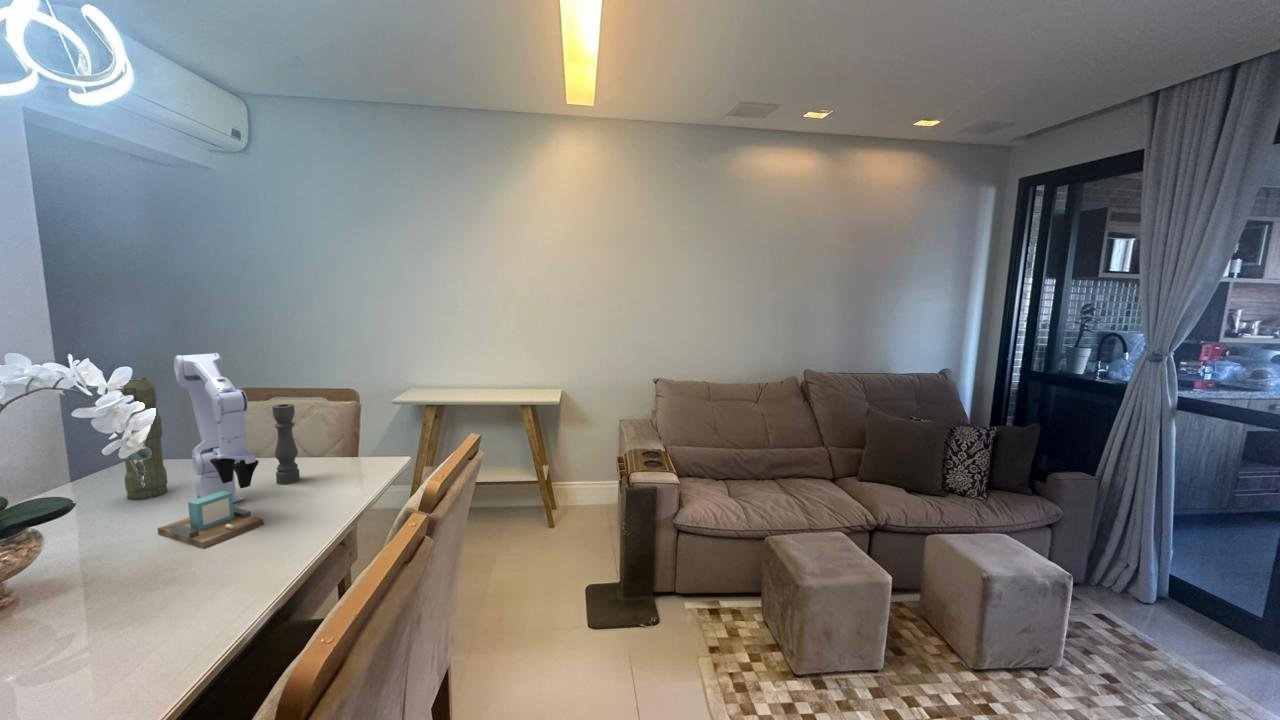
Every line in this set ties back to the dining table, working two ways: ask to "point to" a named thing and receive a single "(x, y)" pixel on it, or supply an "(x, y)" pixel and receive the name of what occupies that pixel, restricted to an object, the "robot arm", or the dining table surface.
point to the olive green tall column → (153, 466)
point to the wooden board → (211, 529)
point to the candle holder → (285, 445)
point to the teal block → (211, 510)
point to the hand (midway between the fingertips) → (236, 484)
